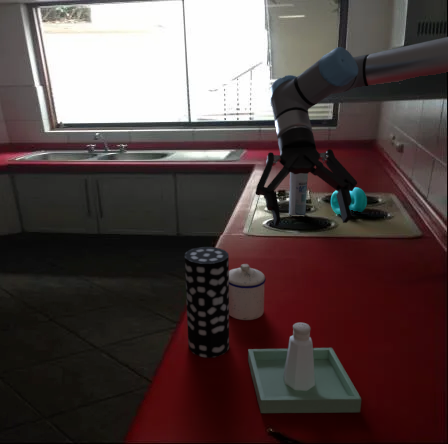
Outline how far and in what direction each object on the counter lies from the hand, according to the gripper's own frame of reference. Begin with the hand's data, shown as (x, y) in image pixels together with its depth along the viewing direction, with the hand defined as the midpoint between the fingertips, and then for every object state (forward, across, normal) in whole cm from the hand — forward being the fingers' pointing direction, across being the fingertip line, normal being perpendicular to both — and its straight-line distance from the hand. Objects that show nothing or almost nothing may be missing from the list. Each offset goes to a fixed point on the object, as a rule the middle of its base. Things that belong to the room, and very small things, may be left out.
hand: (312, 221), depth 83 cm
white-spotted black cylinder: (+21, +22, -12) cm, 33 cm away
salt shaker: (+29, +7, -4) cm, 30 cm away
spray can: (-39, -19, -73) cm, 85 cm away
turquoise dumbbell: (-39, -38, -72) cm, 90 cm away
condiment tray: (+30, +7, -4) cm, 31 cm away
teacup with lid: (+12, +14, -22) cm, 28 cm away
